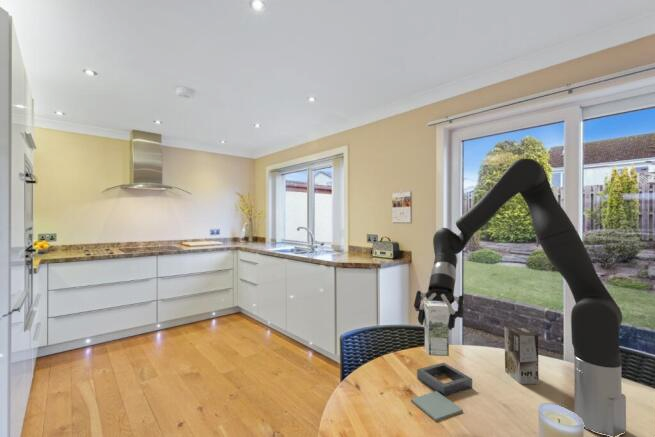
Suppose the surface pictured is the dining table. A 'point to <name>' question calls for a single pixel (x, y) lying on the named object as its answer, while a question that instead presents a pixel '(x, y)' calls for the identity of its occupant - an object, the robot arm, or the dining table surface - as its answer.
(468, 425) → the dining table surface
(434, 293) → the robot arm
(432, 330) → the syrup box
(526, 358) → the coffee box
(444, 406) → the slate coaster
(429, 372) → the socket block
